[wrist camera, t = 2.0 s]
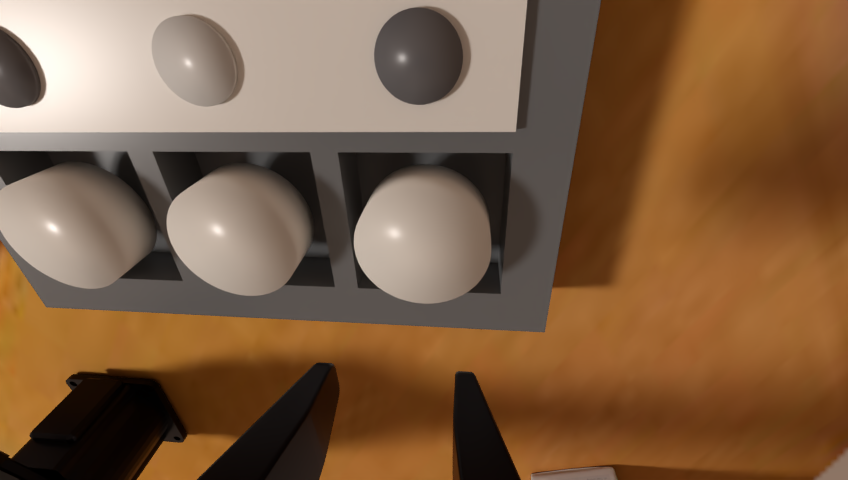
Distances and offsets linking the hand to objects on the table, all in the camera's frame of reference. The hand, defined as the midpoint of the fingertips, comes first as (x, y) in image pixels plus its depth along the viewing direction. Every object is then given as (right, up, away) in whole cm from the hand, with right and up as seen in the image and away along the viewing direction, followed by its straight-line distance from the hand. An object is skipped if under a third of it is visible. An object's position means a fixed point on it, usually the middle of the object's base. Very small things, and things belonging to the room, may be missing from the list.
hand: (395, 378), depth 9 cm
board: (-6, +7, +8) cm, 12 cm away
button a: (+1, +4, +6) cm, 7 cm away
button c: (-13, +4, +8) cm, 16 cm away
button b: (-6, +4, +7) cm, 10 cm away
